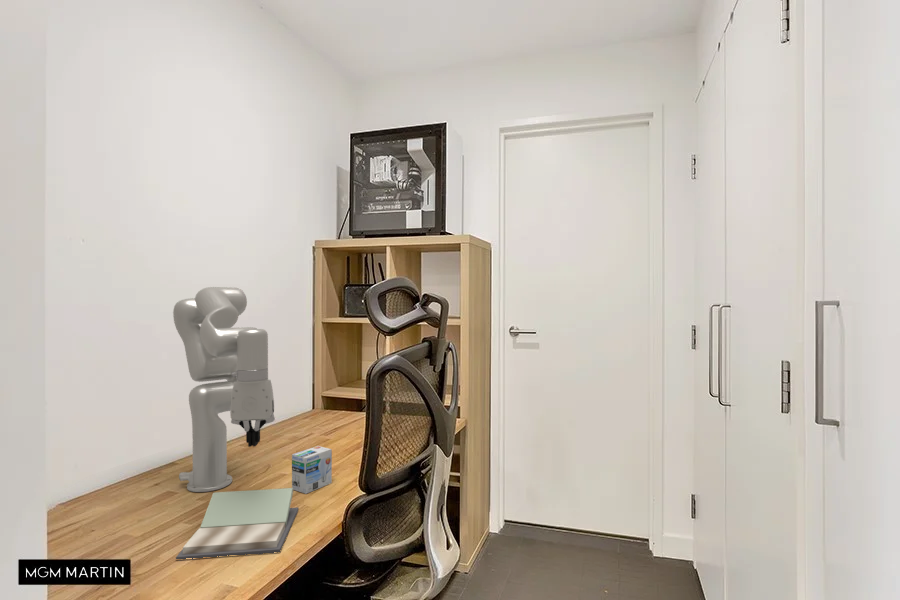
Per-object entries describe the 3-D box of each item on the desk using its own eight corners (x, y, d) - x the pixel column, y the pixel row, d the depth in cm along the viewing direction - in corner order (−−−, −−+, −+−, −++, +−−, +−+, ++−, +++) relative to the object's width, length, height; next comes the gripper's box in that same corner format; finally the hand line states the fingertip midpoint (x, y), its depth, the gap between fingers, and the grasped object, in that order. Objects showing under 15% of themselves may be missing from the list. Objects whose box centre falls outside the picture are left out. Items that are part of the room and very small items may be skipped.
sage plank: (201, 531, 114) (200, 527, 113) (214, 496, 123) (213, 492, 122) (286, 525, 117) (285, 521, 116) (293, 491, 125) (292, 487, 125)
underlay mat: (175, 560, 103) (175, 557, 103) (213, 515, 124) (213, 512, 125) (279, 552, 106) (279, 549, 106) (298, 510, 127) (298, 507, 127)
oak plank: (182, 554, 104) (182, 547, 104) (200, 533, 113) (200, 526, 113) (276, 547, 106) (276, 540, 106) (285, 527, 116) (285, 521, 116)
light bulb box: (306, 494, 138) (305, 458, 138) (290, 490, 142) (290, 454, 142) (332, 482, 147) (332, 448, 147) (317, 478, 151) (317, 445, 151)
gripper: (217, 378, 119) (218, 451, 119) (279, 377, 121) (279, 448, 121) (227, 374, 126) (228, 442, 126) (285, 372, 128) (285, 439, 128)
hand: (253, 445), depth 124 cm, fingers closed
